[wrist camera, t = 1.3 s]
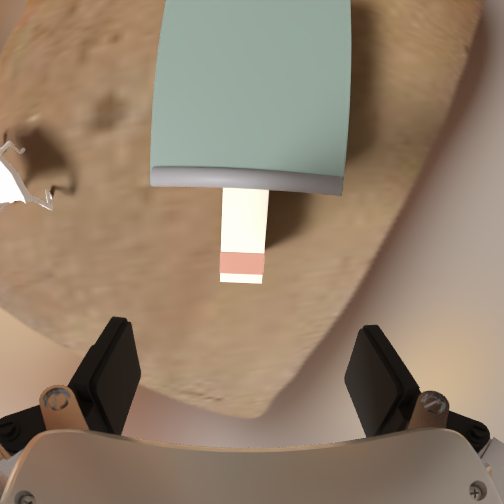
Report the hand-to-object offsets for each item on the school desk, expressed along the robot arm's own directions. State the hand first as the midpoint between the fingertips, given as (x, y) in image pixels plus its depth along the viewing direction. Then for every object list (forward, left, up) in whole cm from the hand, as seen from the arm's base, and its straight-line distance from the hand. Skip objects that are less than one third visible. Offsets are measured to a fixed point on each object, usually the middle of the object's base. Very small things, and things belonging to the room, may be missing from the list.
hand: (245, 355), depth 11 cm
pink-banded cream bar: (-5, 0, -15) cm, 16 cm away
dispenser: (-13, 0, -16) cm, 21 cm away
